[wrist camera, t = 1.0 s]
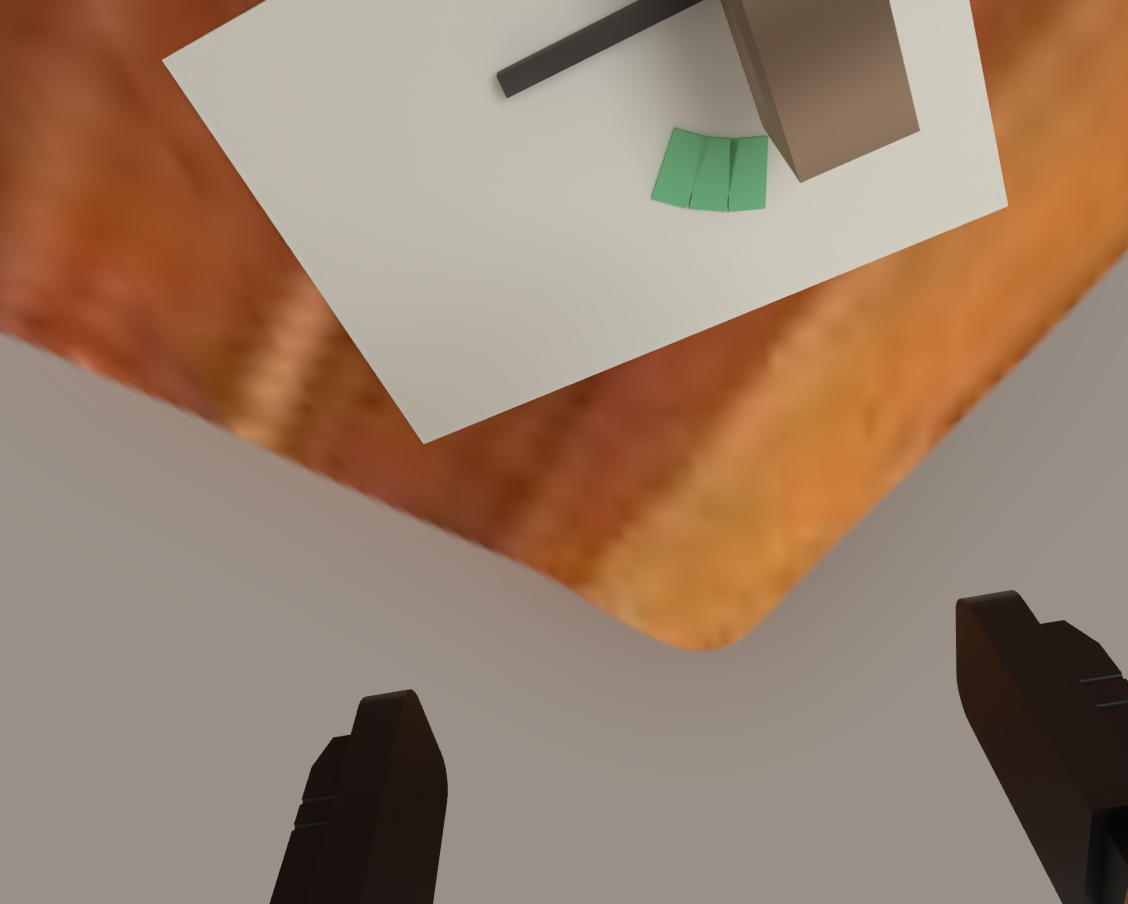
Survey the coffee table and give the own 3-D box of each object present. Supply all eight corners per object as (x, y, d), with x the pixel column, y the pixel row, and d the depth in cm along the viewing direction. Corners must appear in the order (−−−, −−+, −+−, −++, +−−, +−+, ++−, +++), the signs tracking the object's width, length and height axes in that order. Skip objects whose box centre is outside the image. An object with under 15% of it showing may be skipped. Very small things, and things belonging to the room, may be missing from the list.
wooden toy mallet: (439, -52, 26) (404, -13, 20) (760, -231, 24) (831, -247, 18) (557, 194, 30) (558, 288, 24) (840, 62, 28) (919, 130, 22)
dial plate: (178, 49, 29) (159, 61, 28) (882, -352, 24) (903, -363, 22) (427, 423, 38) (422, 447, 36) (990, 191, 32) (1010, 208, 31)
